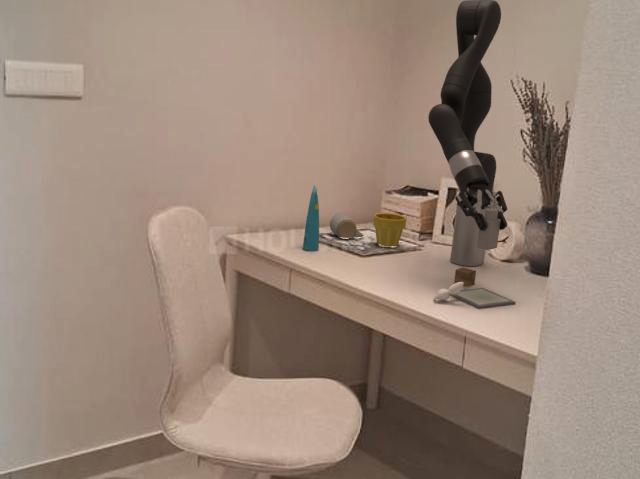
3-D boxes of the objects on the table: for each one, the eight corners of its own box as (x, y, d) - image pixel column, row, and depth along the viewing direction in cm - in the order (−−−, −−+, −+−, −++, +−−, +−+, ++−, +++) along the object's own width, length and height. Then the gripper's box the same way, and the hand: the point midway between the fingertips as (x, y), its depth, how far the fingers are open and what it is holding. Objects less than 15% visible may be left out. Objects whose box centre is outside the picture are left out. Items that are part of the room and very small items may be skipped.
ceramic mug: (335, 240, 231) (337, 217, 229) (328, 234, 239) (330, 212, 237) (366, 241, 234) (368, 218, 232) (358, 235, 242) (360, 213, 240)
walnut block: (461, 281, 195) (463, 267, 194) (474, 284, 192) (476, 270, 191) (454, 283, 192) (455, 269, 191) (467, 287, 189) (468, 273, 188)
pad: (482, 290, 187) (482, 287, 187) (515, 304, 177) (515, 301, 177) (446, 294, 182) (447, 291, 181) (478, 308, 171) (479, 306, 171)
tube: (320, 252, 215) (325, 189, 210) (305, 252, 213) (309, 188, 209) (315, 246, 222) (320, 185, 217) (300, 246, 221) (304, 184, 216)
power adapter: (498, 247, 177) (504, 200, 174) (485, 250, 174) (492, 201, 171) (487, 244, 179) (493, 198, 177) (475, 247, 176) (481, 199, 173)
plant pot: (405, 250, 224) (408, 220, 222) (372, 248, 224) (374, 218, 222) (401, 243, 234) (404, 214, 232) (370, 241, 234) (373, 211, 232)
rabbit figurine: (429, 297, 178) (458, 284, 179) (437, 311, 177) (465, 297, 177) (431, 291, 172) (461, 277, 173) (439, 305, 171) (468, 291, 172)
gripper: (454, 163, 175) (481, 221, 167) (497, 163, 182) (525, 219, 175) (438, 181, 180) (463, 238, 173) (480, 180, 188) (507, 235, 180)
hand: (494, 228), depth 174 cm, fingers closed on power adapter, 5 cm apart
